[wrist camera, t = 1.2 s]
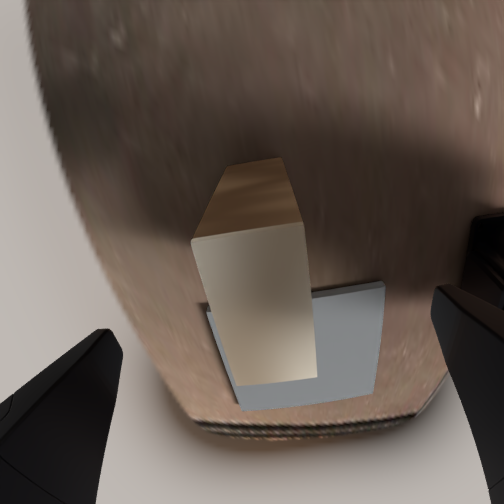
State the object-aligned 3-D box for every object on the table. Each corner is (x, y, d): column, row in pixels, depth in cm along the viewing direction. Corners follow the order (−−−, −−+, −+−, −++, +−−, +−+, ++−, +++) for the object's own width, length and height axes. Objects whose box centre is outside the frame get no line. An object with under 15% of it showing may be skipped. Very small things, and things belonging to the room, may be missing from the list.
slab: (281, 157, 14) (303, 225, 7) (295, 253, 16) (317, 377, 9) (226, 165, 14) (190, 242, 7) (246, 260, 16) (236, 386, 9)
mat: (382, 280, 17) (385, 286, 16) (371, 387, 21) (372, 393, 21) (207, 305, 18) (206, 312, 17) (242, 405, 22) (241, 411, 22)
